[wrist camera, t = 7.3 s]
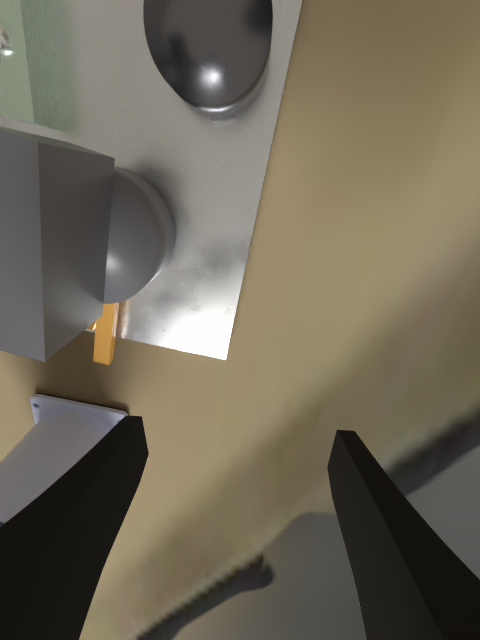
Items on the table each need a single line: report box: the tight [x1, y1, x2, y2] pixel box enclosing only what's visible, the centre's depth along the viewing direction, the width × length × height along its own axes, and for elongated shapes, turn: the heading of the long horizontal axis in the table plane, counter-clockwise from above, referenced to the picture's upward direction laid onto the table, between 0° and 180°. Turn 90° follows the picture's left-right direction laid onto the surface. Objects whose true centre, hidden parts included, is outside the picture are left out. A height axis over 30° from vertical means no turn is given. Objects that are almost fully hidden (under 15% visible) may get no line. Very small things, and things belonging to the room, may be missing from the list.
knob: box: [0, 126, 175, 365], centre depth 12 cm, size 6×12×7 cm, turn 163°
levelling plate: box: [0, 0, 302, 359], centre depth 13 cm, size 18×20×4 cm
